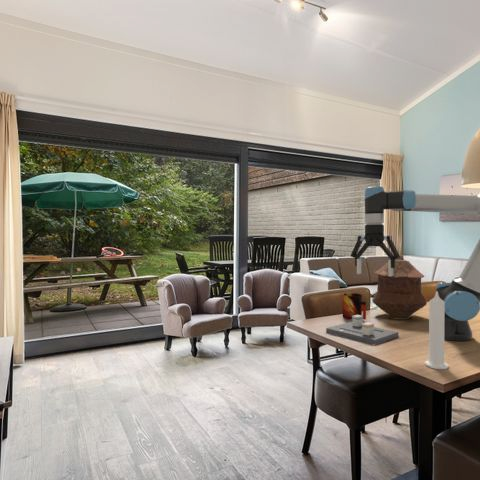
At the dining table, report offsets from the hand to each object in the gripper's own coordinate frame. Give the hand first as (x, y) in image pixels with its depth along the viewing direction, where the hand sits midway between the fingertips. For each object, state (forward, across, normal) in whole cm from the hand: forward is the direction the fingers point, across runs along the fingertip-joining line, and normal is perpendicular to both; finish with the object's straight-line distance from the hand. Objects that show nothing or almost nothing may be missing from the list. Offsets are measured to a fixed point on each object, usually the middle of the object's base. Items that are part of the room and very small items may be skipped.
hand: (374, 274), depth 159 cm
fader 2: (+24, +1, +3) cm, 25 cm away
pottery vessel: (+27, +8, -46) cm, 54 cm away
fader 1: (+24, +11, -7) cm, 28 cm away
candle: (+27, -29, +17) cm, 43 cm away
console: (+27, +7, -2) cm, 28 cm away
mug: (+27, +23, -29) cm, 46 cm away
